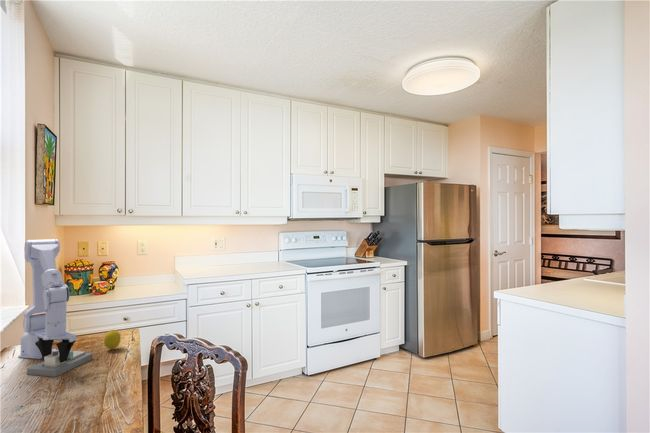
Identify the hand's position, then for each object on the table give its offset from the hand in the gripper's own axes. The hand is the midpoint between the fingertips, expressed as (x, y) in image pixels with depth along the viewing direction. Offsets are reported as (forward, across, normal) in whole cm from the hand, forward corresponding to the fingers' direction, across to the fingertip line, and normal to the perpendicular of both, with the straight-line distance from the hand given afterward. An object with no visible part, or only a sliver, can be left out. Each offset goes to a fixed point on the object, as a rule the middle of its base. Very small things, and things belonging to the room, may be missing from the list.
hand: (55, 360), depth 119 cm
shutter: (+1, 0, +6) cm, 6 cm away
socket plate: (+3, 0, +2) cm, 4 cm away
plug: (+3, 0, 0) cm, 3 cm away
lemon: (+3, +6, +19) cm, 20 cm away
